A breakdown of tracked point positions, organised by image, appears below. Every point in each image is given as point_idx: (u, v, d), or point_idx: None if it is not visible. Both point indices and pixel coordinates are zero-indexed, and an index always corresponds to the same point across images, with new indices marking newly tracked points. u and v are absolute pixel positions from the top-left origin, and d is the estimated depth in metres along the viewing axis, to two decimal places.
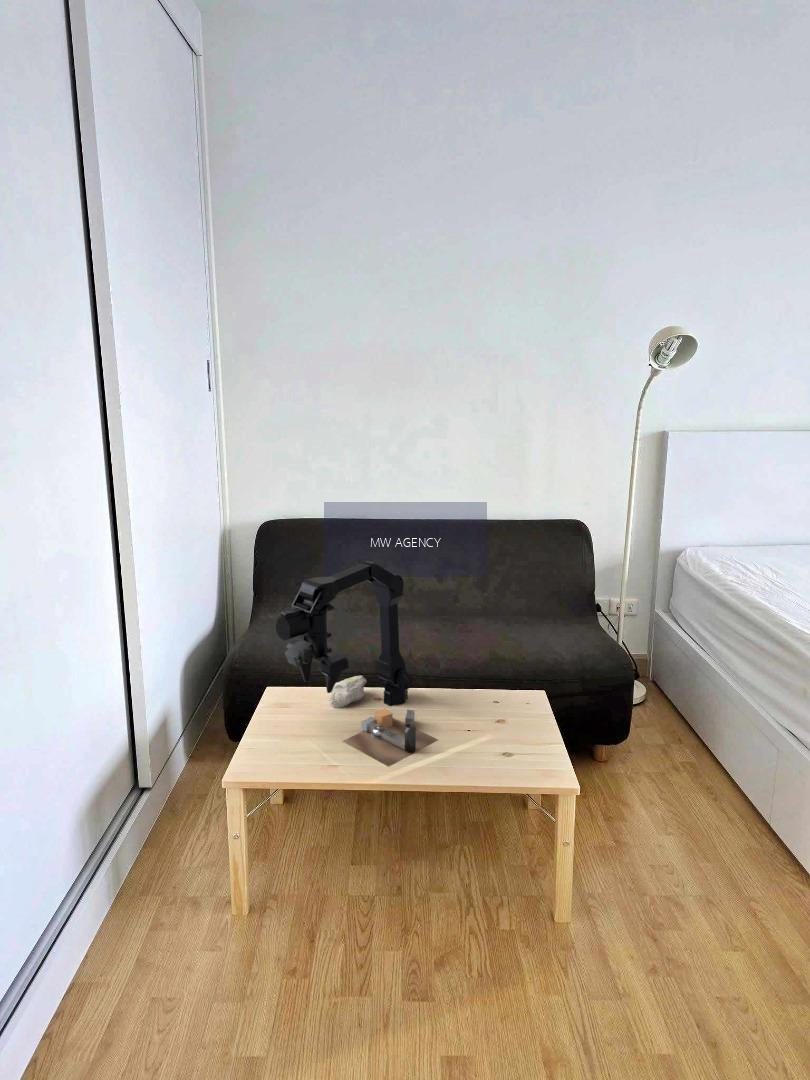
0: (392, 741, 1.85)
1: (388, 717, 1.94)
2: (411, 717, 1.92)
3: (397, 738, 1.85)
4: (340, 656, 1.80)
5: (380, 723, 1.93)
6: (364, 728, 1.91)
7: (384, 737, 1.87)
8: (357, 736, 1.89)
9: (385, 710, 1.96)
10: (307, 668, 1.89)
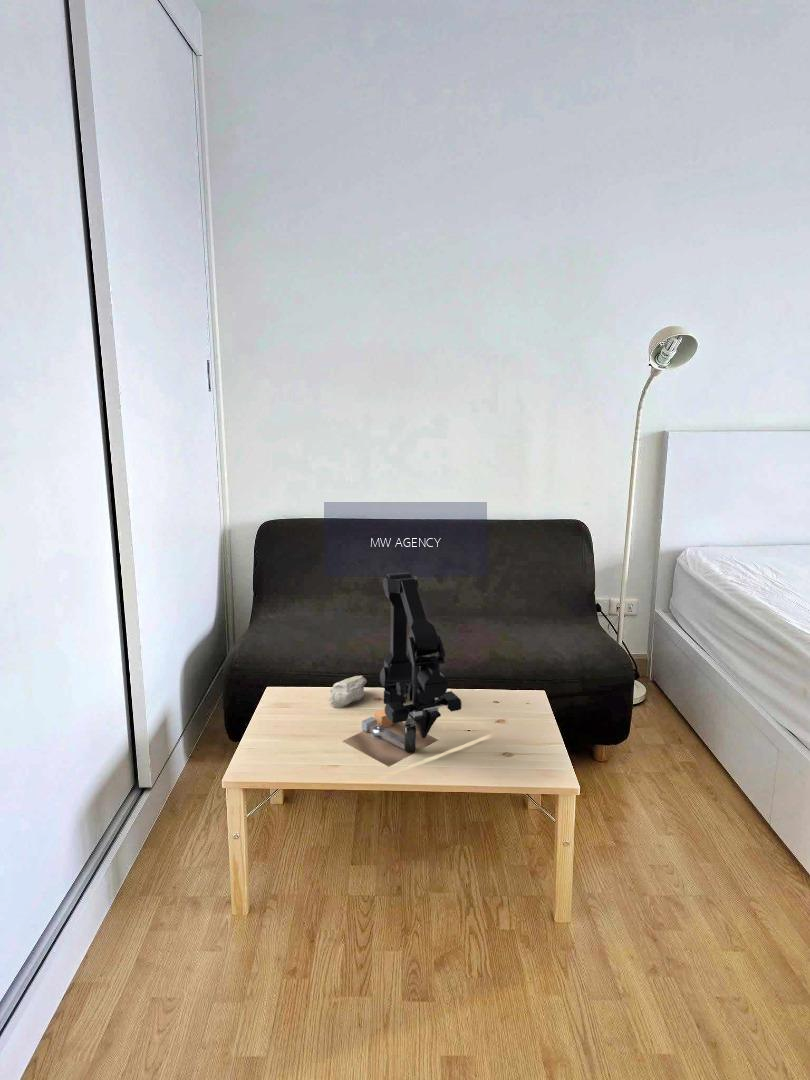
0: (392, 741, 1.85)
1: None
2: None
3: (397, 738, 1.85)
4: (398, 708, 1.77)
5: (380, 723, 1.93)
6: (364, 728, 1.91)
7: (384, 737, 1.87)
8: (357, 736, 1.89)
9: None
10: (424, 725, 1.82)
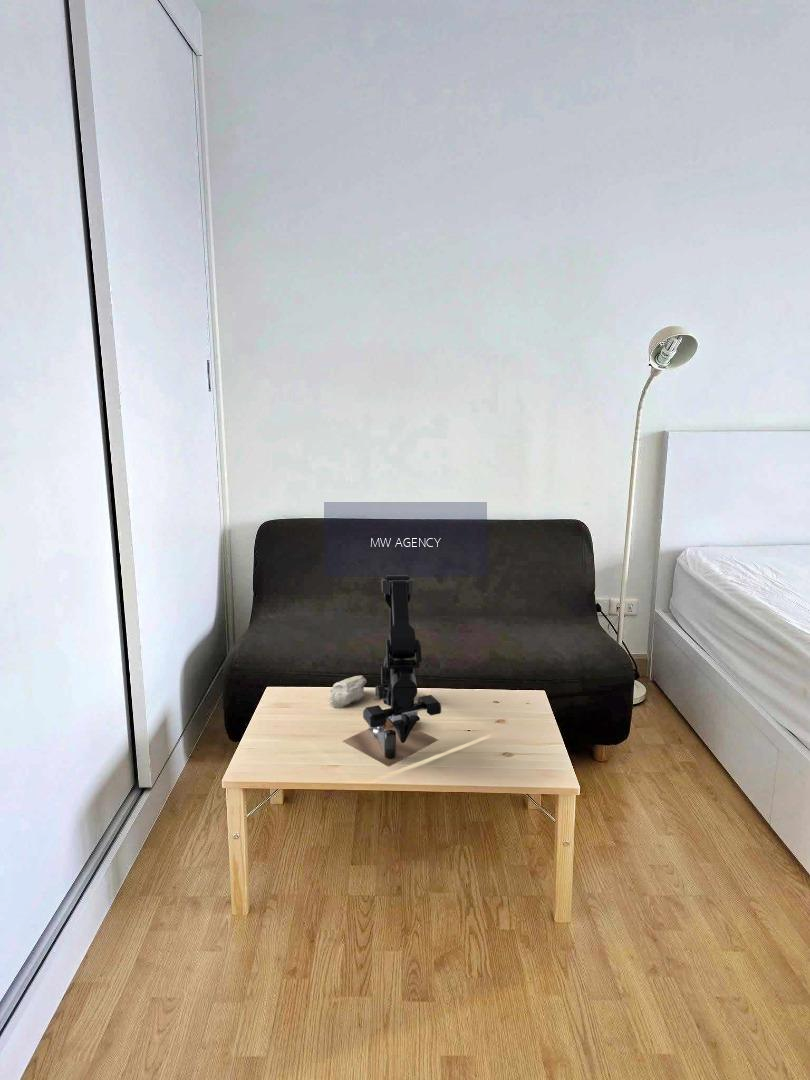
0: (380, 743, 1.84)
1: None
2: None
3: None
4: (377, 713, 1.74)
5: None
6: (369, 725, 1.93)
7: (378, 738, 1.87)
8: (357, 736, 1.89)
9: None
10: None
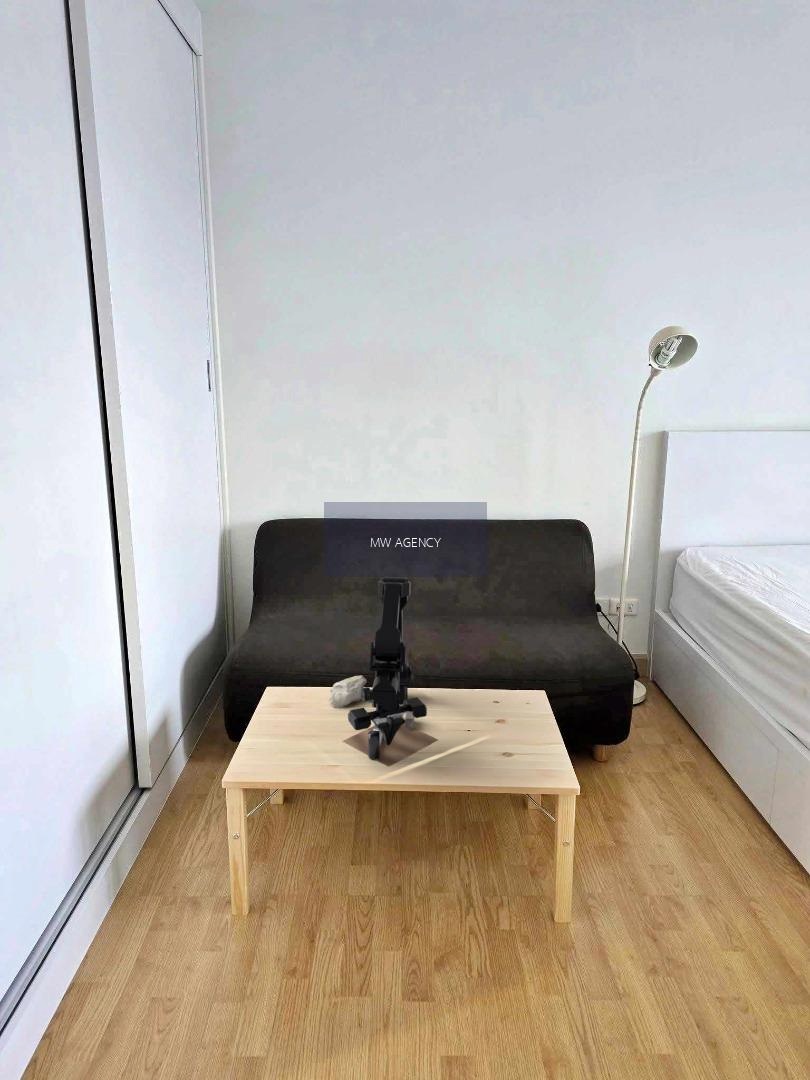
0: None
1: None
2: (411, 717, 1.92)
3: None
4: (361, 715, 1.73)
5: None
6: None
7: None
8: (357, 736, 1.89)
9: None
10: None
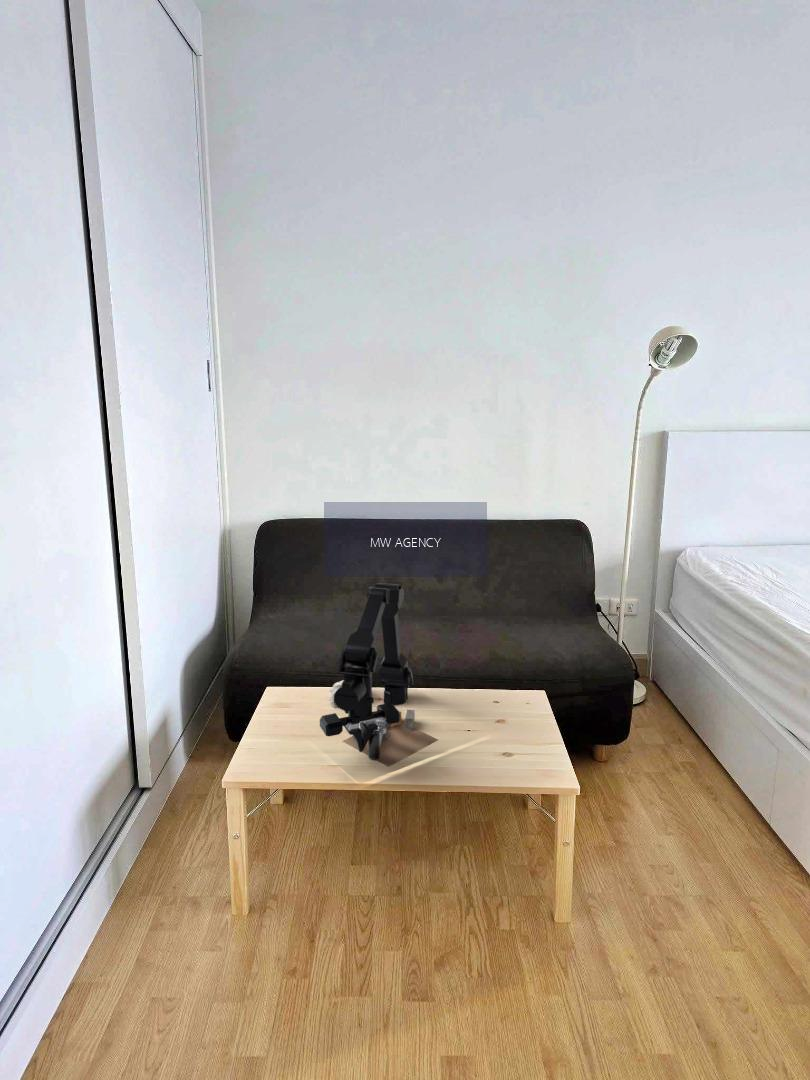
0: None
1: None
2: (411, 717, 1.92)
3: None
4: (332, 721, 1.71)
5: None
6: None
7: None
8: None
9: None
10: (362, 738, 1.76)
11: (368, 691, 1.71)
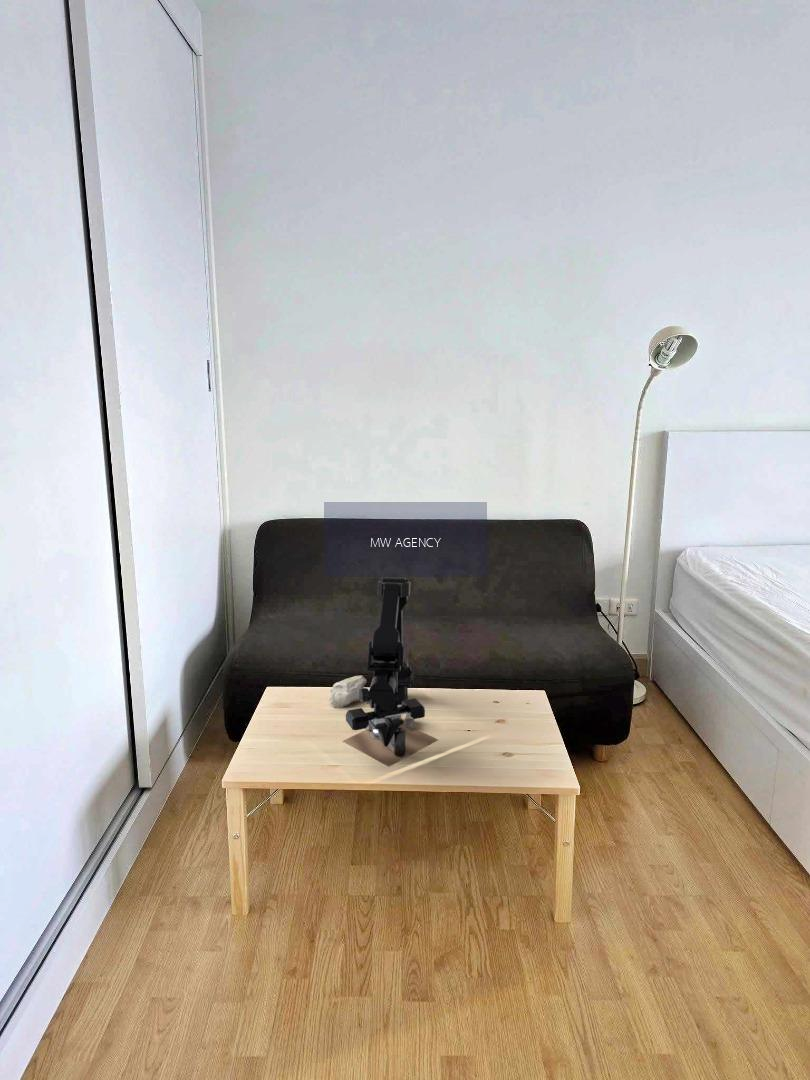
0: None
1: None
2: (411, 717, 1.92)
3: (391, 741, 1.84)
4: (359, 715, 1.73)
5: None
6: None
7: None
8: (357, 736, 1.89)
9: None
10: (387, 733, 1.78)
11: (395, 685, 1.74)
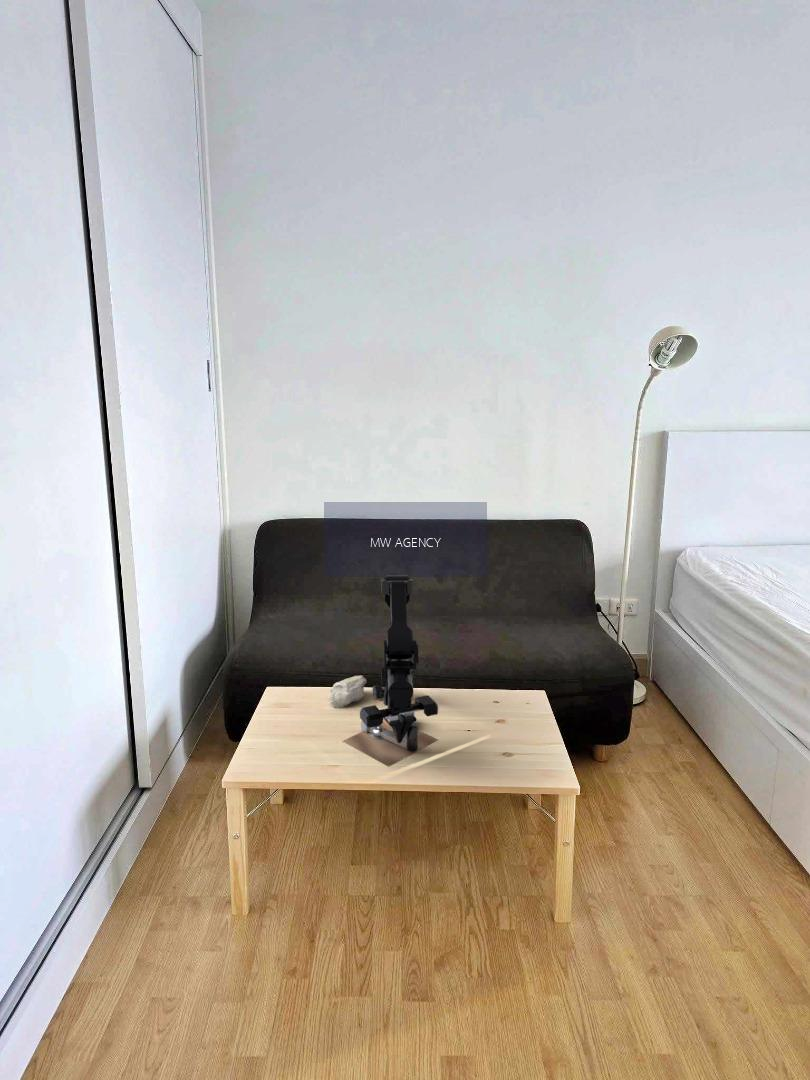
0: (393, 741, 1.86)
1: None
2: None
3: None
4: (373, 713, 1.75)
5: None
6: (364, 728, 1.91)
7: (385, 737, 1.87)
8: (357, 736, 1.89)
9: None
10: (400, 730, 1.80)
11: None
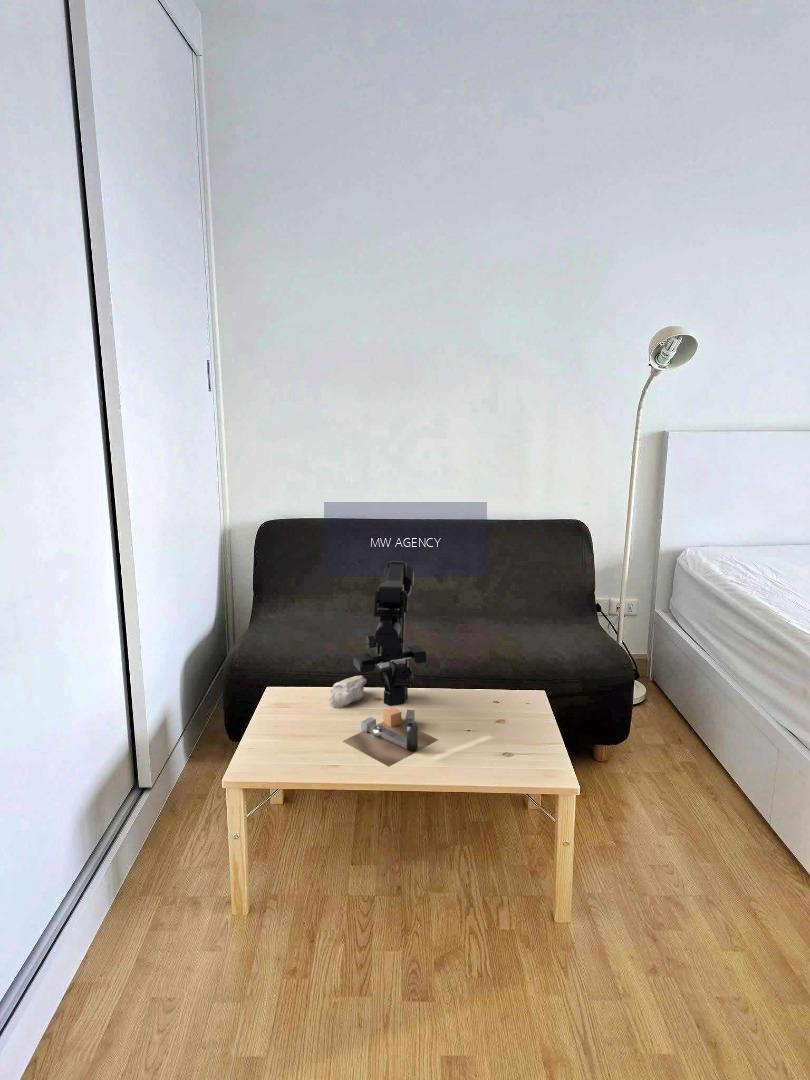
0: (393, 741, 1.86)
1: (397, 715, 1.95)
2: (411, 717, 1.92)
3: (399, 738, 1.85)
4: (366, 659, 1.85)
5: (389, 721, 1.94)
6: (364, 728, 1.91)
7: (385, 737, 1.87)
8: (357, 736, 1.89)
9: (394, 708, 1.97)
10: (392, 677, 1.91)
11: (400, 631, 1.86)
